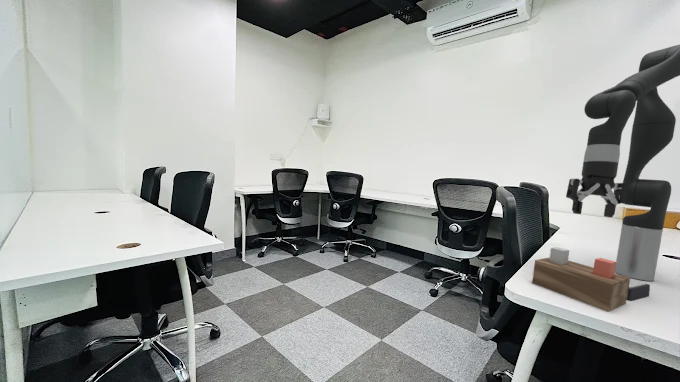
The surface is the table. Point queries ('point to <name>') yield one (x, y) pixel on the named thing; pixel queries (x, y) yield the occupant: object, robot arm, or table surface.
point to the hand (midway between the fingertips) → (592, 215)
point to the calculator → (637, 290)
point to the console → (582, 283)
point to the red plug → (604, 268)
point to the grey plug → (559, 255)
